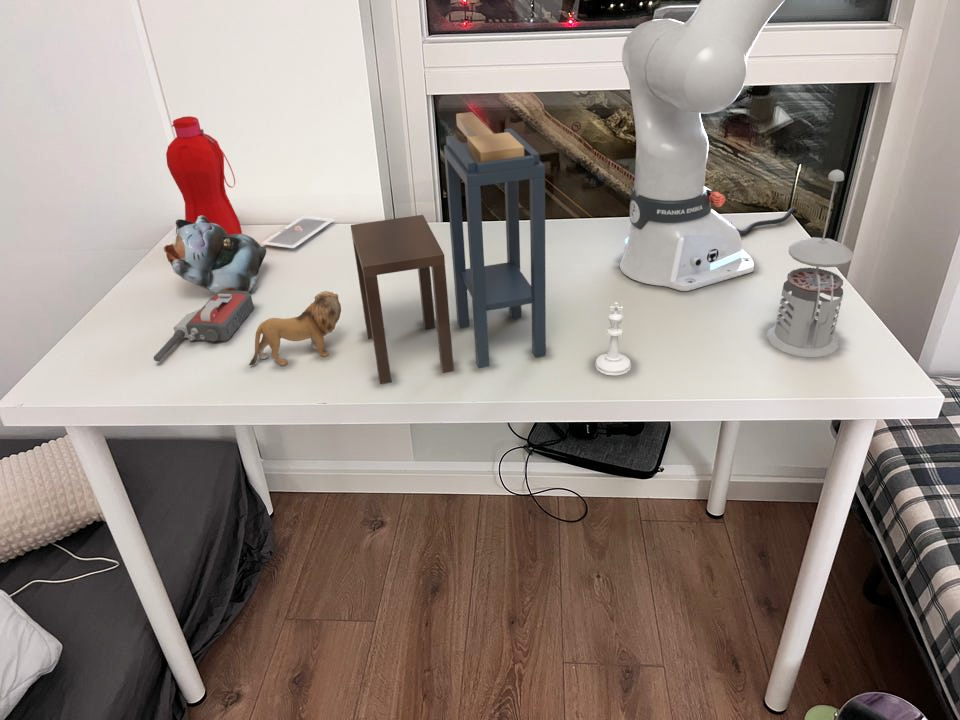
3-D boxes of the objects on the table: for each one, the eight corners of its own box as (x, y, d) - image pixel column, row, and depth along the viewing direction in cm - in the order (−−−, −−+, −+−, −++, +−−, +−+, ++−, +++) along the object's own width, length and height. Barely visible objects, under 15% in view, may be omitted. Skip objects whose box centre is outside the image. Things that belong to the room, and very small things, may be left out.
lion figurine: (341, 334, 117) (332, 282, 112) (352, 350, 113) (343, 296, 108) (246, 360, 112) (232, 307, 107) (253, 377, 108) (239, 323, 103)
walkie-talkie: (210, 303, 128) (151, 367, 111) (204, 279, 126) (142, 341, 109) (259, 304, 127) (207, 369, 110) (254, 280, 124) (199, 343, 108)
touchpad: (336, 224, 155) (334, 214, 154) (294, 253, 144) (292, 243, 143) (304, 220, 158) (302, 210, 157) (260, 248, 146) (258, 238, 145)
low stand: (433, 322, 119) (423, 214, 109) (453, 371, 107) (444, 254, 97) (367, 334, 117) (350, 224, 107) (380, 384, 105) (362, 266, 95)
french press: (831, 323, 112) (869, 157, 99) (849, 366, 103) (894, 189, 89) (762, 320, 114) (790, 157, 100) (773, 362, 104) (806, 188, 91)
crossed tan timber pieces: (483, 123, 111) (482, 107, 110) (524, 164, 94) (524, 146, 93) (446, 127, 110) (445, 112, 109) (481, 169, 93) (480, 152, 92)
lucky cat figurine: (247, 303, 127) (187, 244, 119) (199, 320, 133) (138, 264, 124) (278, 244, 136) (224, 186, 128) (232, 262, 142) (177, 207, 134)
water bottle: (243, 256, 144) (211, 123, 131) (186, 258, 144) (149, 126, 131) (256, 236, 152) (227, 109, 138) (202, 238, 152) (168, 112, 139)
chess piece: (630, 377, 103) (634, 312, 98) (593, 374, 104) (596, 310, 99) (631, 357, 107) (635, 295, 102) (596, 355, 108) (598, 293, 103)
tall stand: (518, 313, 120) (513, 127, 104) (545, 356, 109) (545, 155, 93) (457, 323, 118) (443, 136, 102) (478, 368, 107) (466, 166, 91)
